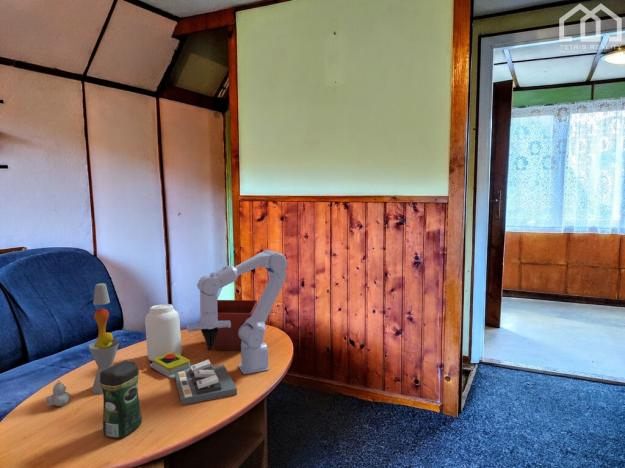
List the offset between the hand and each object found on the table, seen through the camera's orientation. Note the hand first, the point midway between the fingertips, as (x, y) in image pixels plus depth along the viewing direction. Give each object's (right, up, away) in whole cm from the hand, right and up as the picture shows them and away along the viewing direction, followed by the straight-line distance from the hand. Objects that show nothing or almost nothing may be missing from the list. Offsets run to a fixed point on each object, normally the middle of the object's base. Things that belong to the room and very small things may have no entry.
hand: (209, 349), depth 147 cm
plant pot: (+2, -7, +32) cm, 33 cm away
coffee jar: (-17, -14, -30) cm, 37 cm away
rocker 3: (+2, -8, -11) cm, 14 cm away
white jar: (-22, -8, +19) cm, 30 cm away
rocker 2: (-1, -7, -5) cm, 9 cm away
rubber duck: (-42, -13, -17) cm, 47 cm away
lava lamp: (-33, -11, -5) cm, 35 cm away
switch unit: (-1, -11, -4) cm, 12 cm away
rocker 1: (-3, -6, +1) cm, 7 cm away
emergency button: (-16, -9, +9) cm, 20 cm away
